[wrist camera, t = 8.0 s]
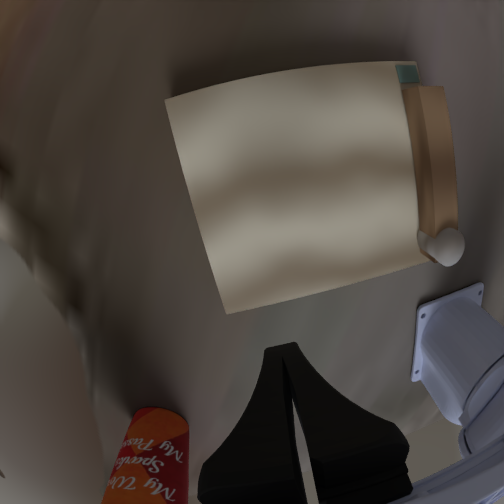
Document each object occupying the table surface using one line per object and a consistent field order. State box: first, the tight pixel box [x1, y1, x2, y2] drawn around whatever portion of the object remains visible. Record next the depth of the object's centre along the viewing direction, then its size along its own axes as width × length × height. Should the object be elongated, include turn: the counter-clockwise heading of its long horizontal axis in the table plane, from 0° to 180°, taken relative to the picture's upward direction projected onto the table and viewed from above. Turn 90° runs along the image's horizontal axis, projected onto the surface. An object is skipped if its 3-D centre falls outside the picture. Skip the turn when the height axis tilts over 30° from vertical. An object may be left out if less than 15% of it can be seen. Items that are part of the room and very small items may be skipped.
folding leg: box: [402, 86, 465, 266], centre depth 16 cm, size 11×2×3 cm, turn 13°
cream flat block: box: [165, 61, 431, 314], centre depth 18 cm, size 14×16×2 cm
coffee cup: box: [101, 407, 189, 504], centre depth 20 cm, size 8×8×15 cm
